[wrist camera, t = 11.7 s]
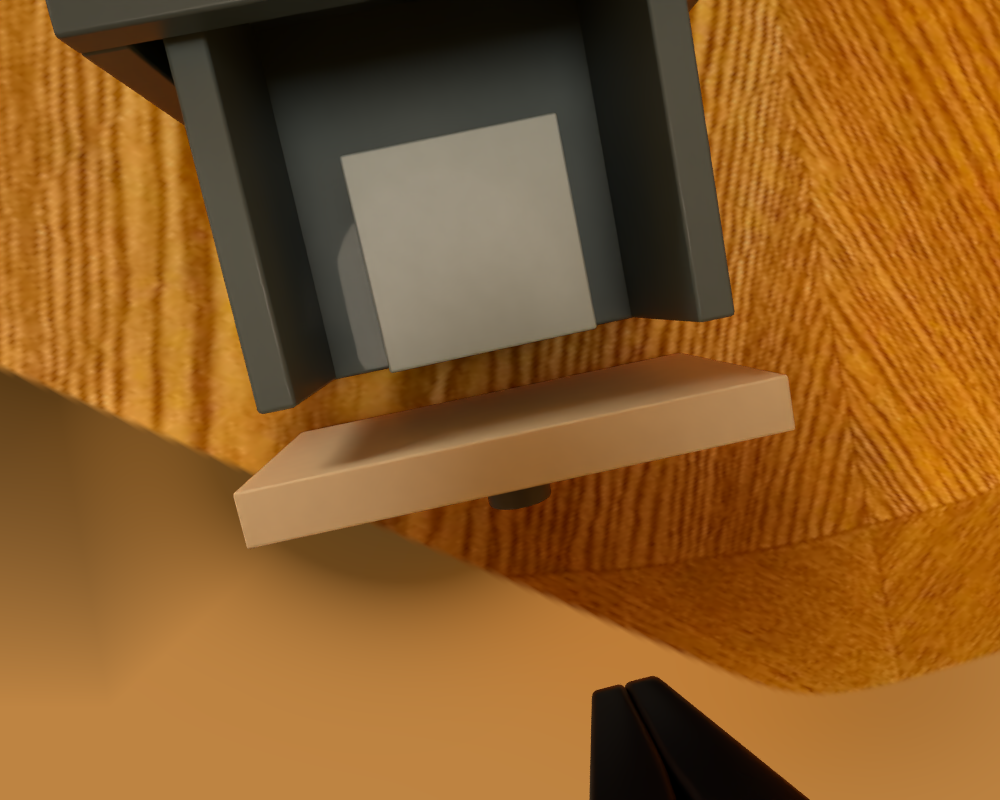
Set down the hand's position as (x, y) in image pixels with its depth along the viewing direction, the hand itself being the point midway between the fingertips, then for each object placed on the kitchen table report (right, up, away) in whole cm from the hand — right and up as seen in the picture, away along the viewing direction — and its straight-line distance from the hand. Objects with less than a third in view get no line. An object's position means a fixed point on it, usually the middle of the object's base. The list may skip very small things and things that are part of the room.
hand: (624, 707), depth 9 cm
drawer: (-3, +8, +12) cm, 15 cm away
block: (-2, +8, +11) cm, 13 cm away
